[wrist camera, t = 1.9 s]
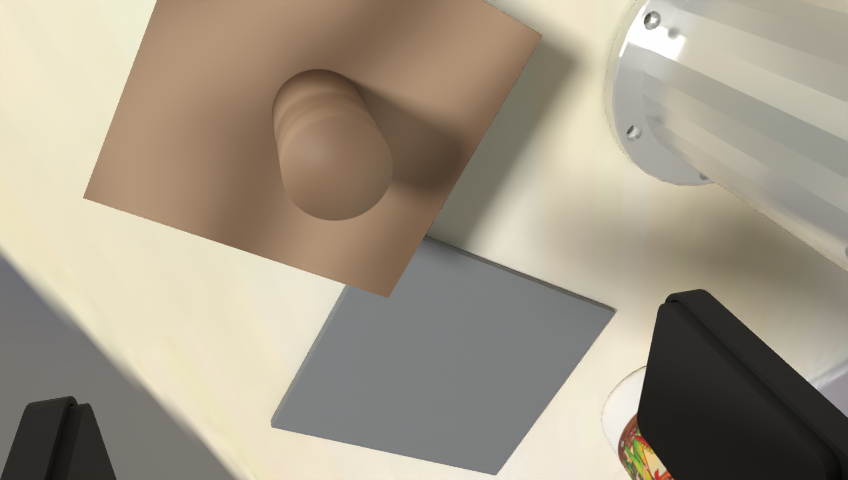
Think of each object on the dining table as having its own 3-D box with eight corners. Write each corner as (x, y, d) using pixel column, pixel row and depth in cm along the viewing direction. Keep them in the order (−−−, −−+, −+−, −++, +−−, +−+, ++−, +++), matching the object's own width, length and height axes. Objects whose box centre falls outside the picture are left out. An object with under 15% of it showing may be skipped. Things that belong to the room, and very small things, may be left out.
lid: (532, 29, 25) (608, 73, 20) (383, 285, 29) (416, 376, 24) (216, -157, 20) (212, -160, 15) (88, 185, 24) (50, 275, 19)
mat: (610, 307, 41) (615, 312, 41) (492, 468, 46) (495, 475, 45) (382, 219, 34) (384, 225, 34) (271, 419, 39) (271, 427, 38)
